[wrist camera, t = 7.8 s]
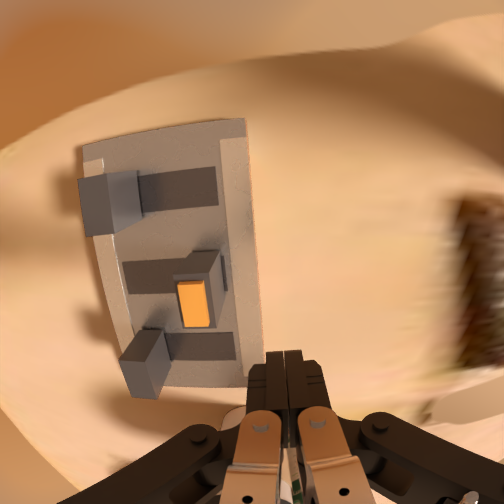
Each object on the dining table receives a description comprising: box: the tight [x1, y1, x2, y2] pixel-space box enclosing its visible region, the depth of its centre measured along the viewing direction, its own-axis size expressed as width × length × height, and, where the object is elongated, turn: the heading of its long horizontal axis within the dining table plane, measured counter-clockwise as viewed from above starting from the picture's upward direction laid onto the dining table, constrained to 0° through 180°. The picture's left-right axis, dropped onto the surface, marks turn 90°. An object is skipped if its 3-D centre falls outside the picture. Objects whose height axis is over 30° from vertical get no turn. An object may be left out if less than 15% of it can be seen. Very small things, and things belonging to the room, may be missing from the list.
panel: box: [82, 118, 265, 388], centre depth 26 cm, size 14×24×2 cm, turn 4°
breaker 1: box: [78, 170, 142, 237], centre depth 21 cm, size 2×4×5 cm, turn 5°
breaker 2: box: [118, 330, 172, 399], centre depth 25 cm, size 2×4×5 cm, turn 4°
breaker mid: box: [173, 251, 225, 329], centre depth 22 cm, size 2×4×6 cm, turn 5°
